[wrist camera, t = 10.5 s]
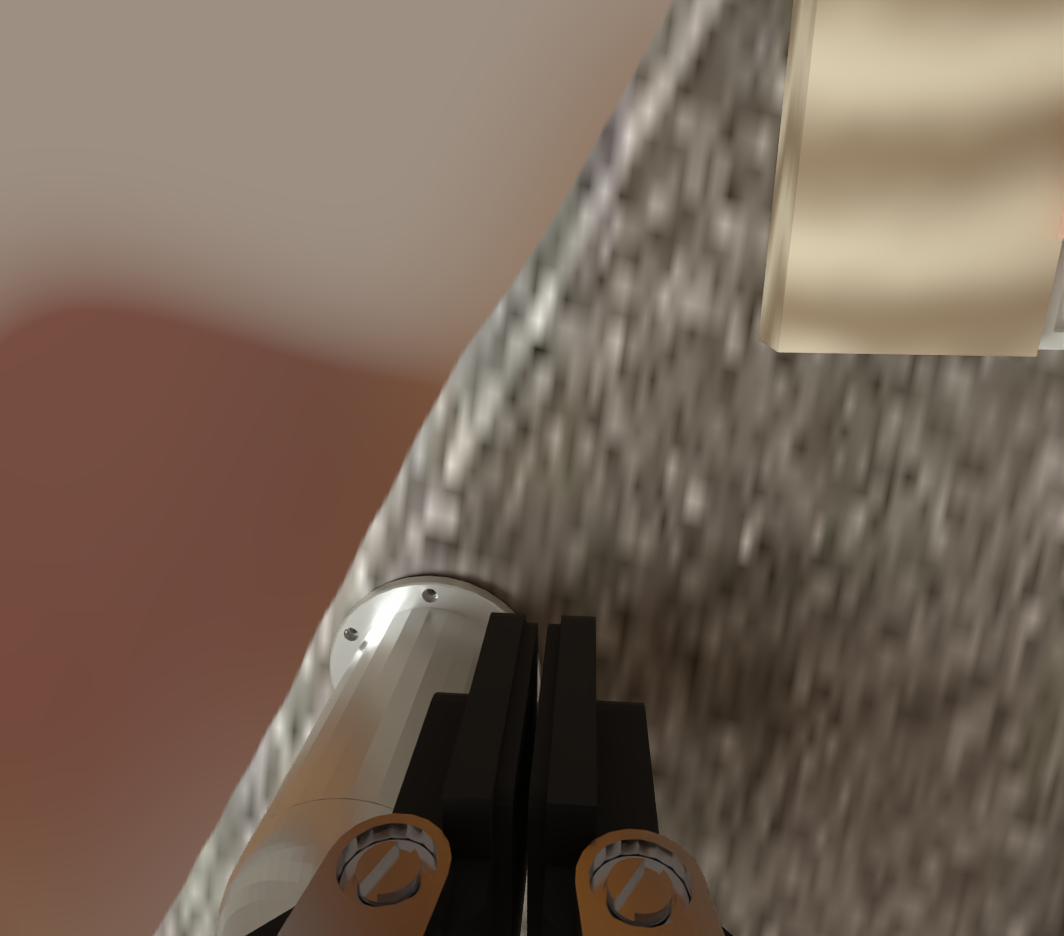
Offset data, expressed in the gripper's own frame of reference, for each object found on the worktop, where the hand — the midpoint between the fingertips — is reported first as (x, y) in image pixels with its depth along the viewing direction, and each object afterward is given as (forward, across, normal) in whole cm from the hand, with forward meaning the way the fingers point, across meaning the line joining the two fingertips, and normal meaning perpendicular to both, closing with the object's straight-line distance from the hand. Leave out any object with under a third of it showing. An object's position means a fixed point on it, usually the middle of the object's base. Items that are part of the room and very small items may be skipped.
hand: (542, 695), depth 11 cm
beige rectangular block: (+27, -14, -10) cm, 32 cm away
